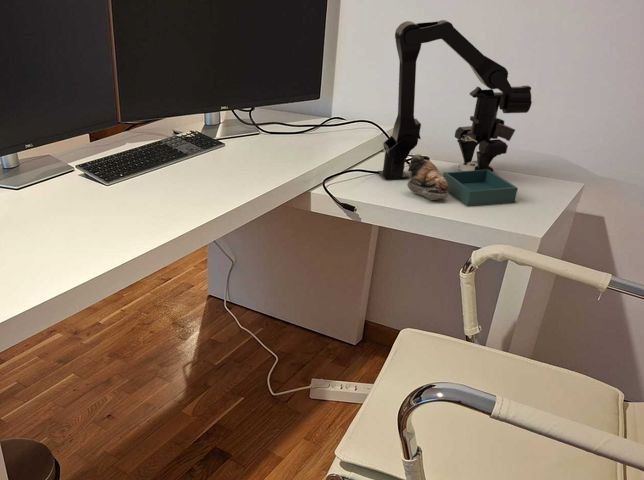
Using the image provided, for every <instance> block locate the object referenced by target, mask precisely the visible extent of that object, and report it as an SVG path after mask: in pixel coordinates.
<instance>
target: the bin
mask: <svg viewBox="0 0 644 480" xmlns="http://www.w3.org/2000/svg"><path fill="white" fill-rule="evenodd" d="M442 176H443V177H444V178H445V180H446V181H447V183H448V189H447V190H446V192H448V193H450V194H451V195H452V196H453V197H455V198H456V199H458V200H459V201H460V202H462V203H463V204H464V205H465V206H467V207H472V206H483V205H485V206H486V205H496V204H512V203H515V202H516V198H517V193H518V189H519V187H517V186H516V185H515V184H513V183H512V182H510V181H508V180H506V179H505V178H503V177H501V176H500V175H498V174H497V173H495V172H492V171H490V170H489V169H484V170H471V171H459V170H458V171H448V172H447V171H446V172H445V171H444V172H443V174H442Z"/></svg>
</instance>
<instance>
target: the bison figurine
mask: <svg viewBox="0 0 644 480" xmlns="http://www.w3.org/2000/svg"><path fill="white" fill-rule="evenodd" d="M410 157H411V160H410V162H409V164H408V170H407V171H408V172H410V176H411V178H410V180H408V182H407V189H409V190H410V191H411V192H413V193H414V194H416V195H419V196H421V197H424V198H426V199H427V200H430V201H437V200H442V199H446V198H447V197H448V196H449V192H448V191H447V189H448V183H447V181H446V180H445V178H444V177H443V174H441V172H440V171H439V169H438V168H437V166H436V165H435V164H434V163H433V162H432V161H430V160H427V159H425V157H424V156H423V155H421V154H412V153H411V154H410Z"/></svg>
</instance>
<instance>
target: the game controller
mask: <svg viewBox="0 0 644 480" xmlns="http://www.w3.org/2000/svg"><path fill="white" fill-rule="evenodd" d="M487 169H489V170H490V171H492V172H493V173H495V168H494V166H493V165H492V164H489V166H488V168H487ZM471 170H478V163H477V160H472V161H471V162H468V163H467V162H464V161H463V163H461V164H459V165H458V171H471Z"/></svg>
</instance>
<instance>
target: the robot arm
mask: <svg viewBox="0 0 644 480" xmlns="http://www.w3.org/2000/svg"><path fill="white" fill-rule="evenodd" d="M394 39H395V46H396V49H397V50H396V51H397V55H398V60H399V68H398V71H399V72H398V100H397V101H398V102H397V116H396V119H395V121H394V124H393V130H392V134H391V135H390V137H388V138H387V139H385V141H384V142H383V143H382V145H383V149H384V151H385V153H384V158H383V166H382V170H378V172H377V173H378V175H380V176H381V177H382V178H383V179H384V180H397V179H408V177H409V176H408V175H407V174H406V173H405V165H406V159H407V158H408V157H409V155H410V153H411V151H412V150H414V149H415V148H416V147H417V145H418V142H419V140H421V139H422V138H421V133H420V132H421V128H422V123H421V122H420V121H419V119H418V118H415V100H416V99H415V96H416V76H417V61H418V57H419V54H420V53H421V52H420V51H421V48H422V44H426V43H431V42H434V41H438V40H442V41H443V42H444V43H445V44H446V45H447V46H448V47H449V48H450V49H452V51H454V53H456V54H457V55H458V56H459V57H460V58H461V59H462V60H463V61H465V63H467V64H468V66H469V67H470V68H471V70H472V72H473V74H474V75H475V76H476V78H477V79H478V81H479V82H480V83H481V84H482V85H484V86H485V87H487V89H485V88H483V89H482V88H481V87H480V86H479V85H478V86H476V87H475V88H474V89H472V90H471V91H470V92H469V96H471V97H472V98H474V99H475V98H476V101H475V107H474V112H473V115H470V117H469V121H471V125H468V126H459V127H457V128H456V129H455V133H454V138H456V139H457V141H456V142H457V143H458V146H459V149H460V152H461V156H462V158H463V163H464V162H467V163H468V162H471V161H473V157H474V154H475V152H476V161H477V163H478V170H484V169H487V168H488V166H489V165H491V162H492V161H493V159H494V158H496V157H498V156H501V155H505V154H507V152H508V148H509V145H508V144H507V143H506V142H505V141H503V140H501V139H505V140H506V141H507V142H510V141H511V139H512V137H513V136H514V134H515V132H516V129H514V128H513V127H511V126H509V125H506V124H505V120H504V119H502V118H499V117H498V112H499V110H501V111H502V113H503V114H527V113H529V111H530V109H531V108H532V107H531V106H532V103H533V101H532V92H531V91H532V87H531V86H530V85H520V86H512V85H511V83H510V81H509V80H508V78H509V71H508V69H507V68H506V67H505V66H503V65H501V64H500V63H498V62H496V61H494V60H493V59H491V58H489V57H488V56H486V55H484V54H483V53H482V51H480V50H479V49H478V48H477V47H476V46H474V44H473V43H471V42H470V40H468V39H467V38H466V37H465V36H464V35H463V34H462V33H461V32H459V30H457V28H455V26H454V25H453V23H452V22H450V21H448V20H447V19H441V20H438V21H437V20H436V21H428V22H427V21H426V22H418V23H415V22H414V21H411V20H407V21H404V22H401V23H400V24H399V25H398V26H397V28H395V33H394ZM495 90H498V91H499V92H497V91H496V92H495ZM499 138H500V139H499ZM477 146H478V151H476V148H477Z"/></svg>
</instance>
